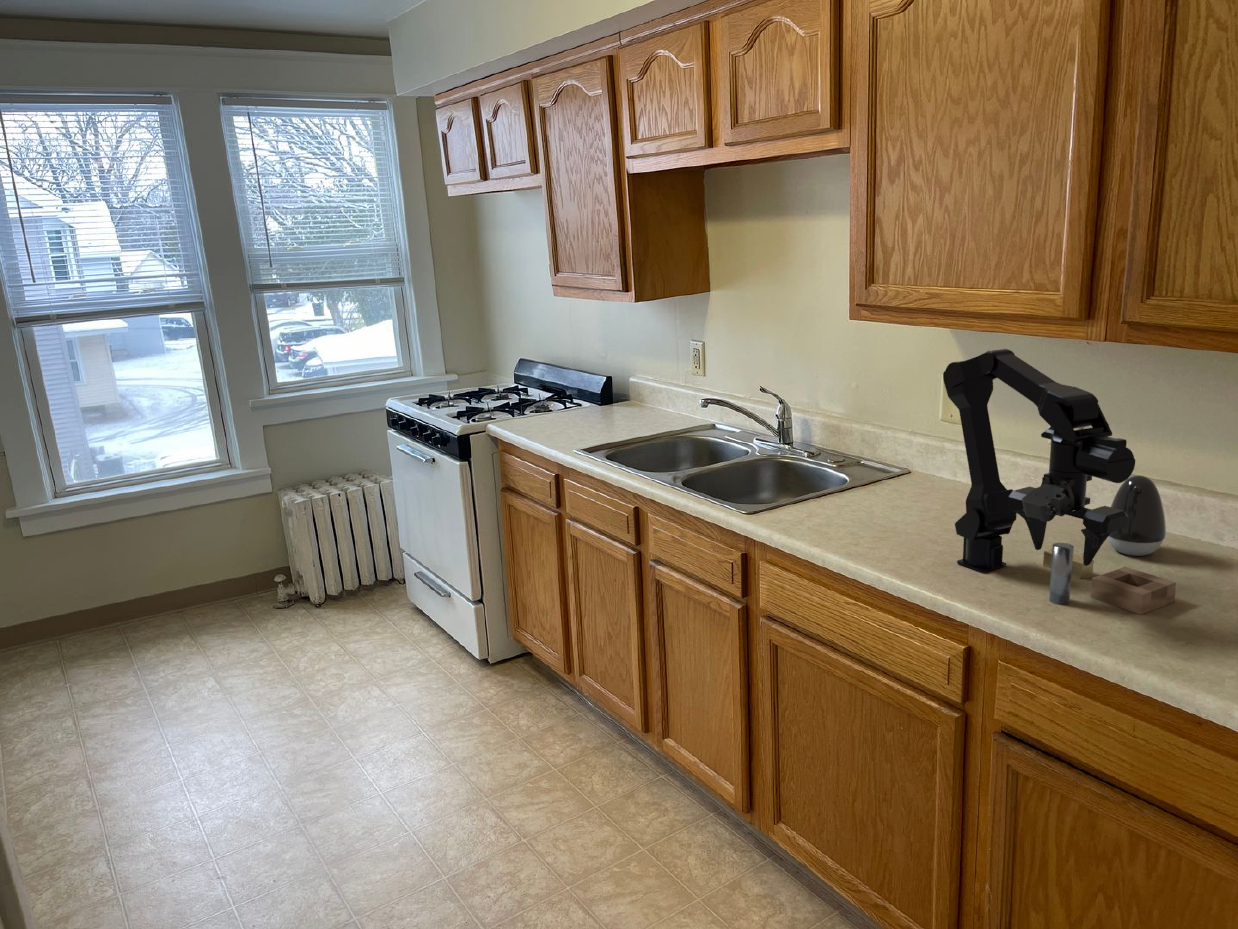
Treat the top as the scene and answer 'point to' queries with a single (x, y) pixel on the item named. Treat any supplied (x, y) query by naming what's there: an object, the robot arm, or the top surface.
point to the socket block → (1133, 590)
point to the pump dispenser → (1139, 517)
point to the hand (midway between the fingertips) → (1061, 557)
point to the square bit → (1077, 566)
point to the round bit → (1061, 573)
